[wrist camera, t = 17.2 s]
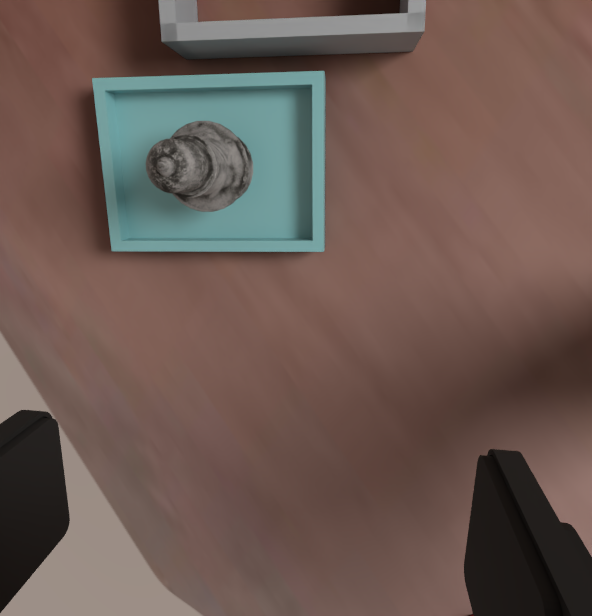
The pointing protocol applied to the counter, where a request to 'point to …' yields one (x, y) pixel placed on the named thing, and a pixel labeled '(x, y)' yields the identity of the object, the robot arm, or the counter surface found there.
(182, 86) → the tray
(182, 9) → the deep rectangular frame
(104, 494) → the counter surface
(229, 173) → the grey stone turned piece
